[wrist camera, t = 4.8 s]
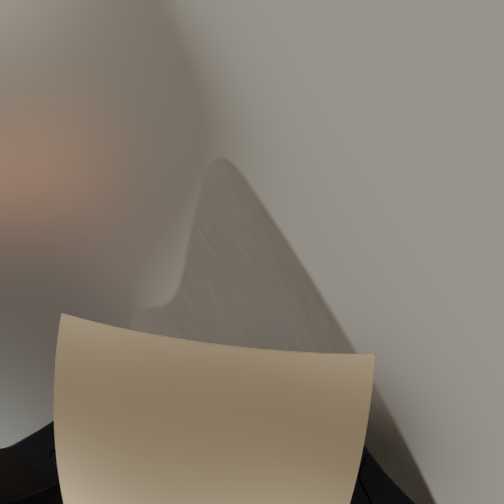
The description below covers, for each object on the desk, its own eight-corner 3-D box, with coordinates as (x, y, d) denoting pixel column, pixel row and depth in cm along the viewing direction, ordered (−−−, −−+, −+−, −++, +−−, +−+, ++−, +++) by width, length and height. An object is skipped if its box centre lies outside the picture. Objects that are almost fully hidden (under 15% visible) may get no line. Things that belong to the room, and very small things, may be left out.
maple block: (268, 426, 13) (322, 577, 2) (187, 416, 13) (71, 534, 2) (277, 350, 15) (375, 353, 3) (195, 341, 15) (61, 312, 3)
